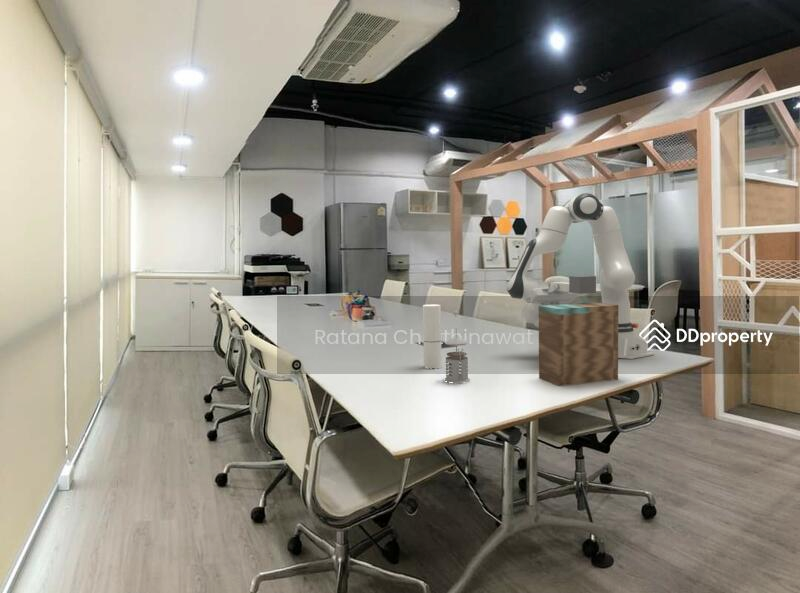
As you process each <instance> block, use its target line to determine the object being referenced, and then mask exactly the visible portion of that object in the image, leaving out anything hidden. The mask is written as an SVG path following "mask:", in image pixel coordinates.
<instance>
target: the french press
mask: <svg viewBox="0 0 800 593" xmlns="http://www.w3.org/2000/svg"><path fill="white" fill-rule="evenodd" d="M452 313H453V315H455V316H457V315H459V311H457V310H453V312H452ZM457 334H458V333H457V329H455V337H453V338H450V339H448V340H446V341H445V342H444V344H445V345H446V346H453V347H454V346H455V351H450V352H447V353H446V355H447V357H445V370H446V371H445V378H444V379H445V381H447V382H453V383H462V384H464V383H463V382H468V383H470V382H471V381H470V380H471V379H470V378H469V374H468V372H469V369H468V367H469V366H468V361H469V360H468V357H467V353H466V352H465V350H464V348H463V347H462V348H461V350H460V349H459V348H458V347H459V346H460V347H461V346H465V345H467V344H468V343H469V342H468V341H467V340H465V339H463V338H459V337H457ZM469 381H470V382H469Z"/></svg>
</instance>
